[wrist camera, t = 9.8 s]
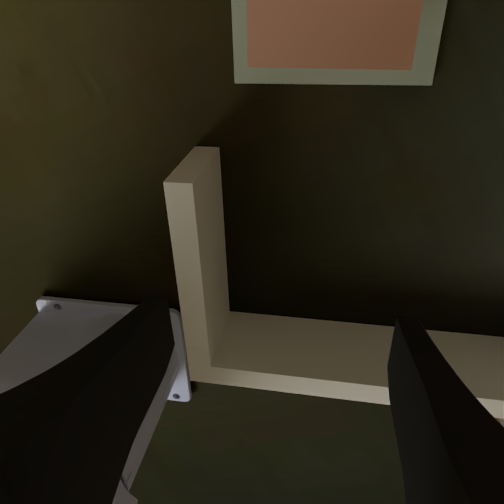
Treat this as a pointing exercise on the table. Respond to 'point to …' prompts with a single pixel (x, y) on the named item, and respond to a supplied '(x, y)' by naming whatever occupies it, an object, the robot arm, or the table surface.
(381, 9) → the block
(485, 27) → the table surface
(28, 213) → the table surface
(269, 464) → the table surface
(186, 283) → the u-shaped wall
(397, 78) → the mat
